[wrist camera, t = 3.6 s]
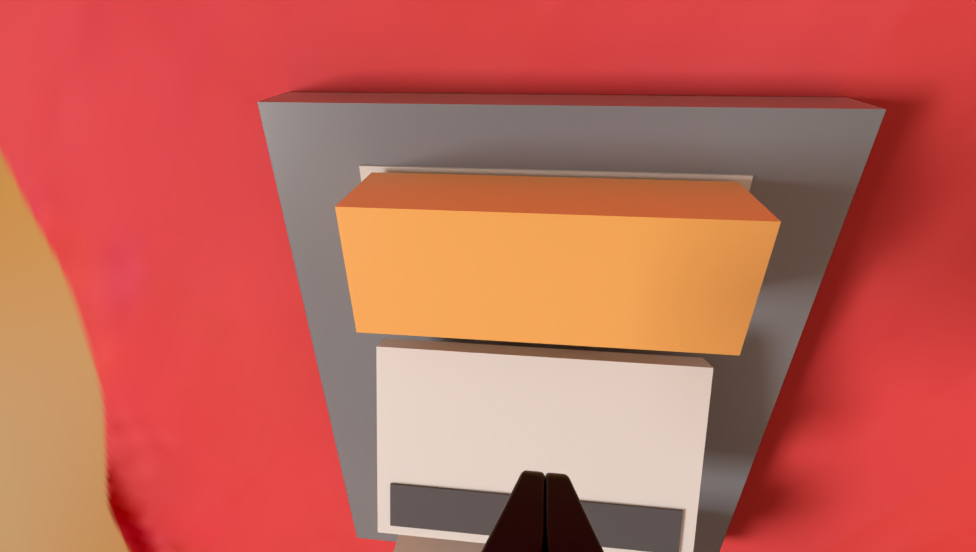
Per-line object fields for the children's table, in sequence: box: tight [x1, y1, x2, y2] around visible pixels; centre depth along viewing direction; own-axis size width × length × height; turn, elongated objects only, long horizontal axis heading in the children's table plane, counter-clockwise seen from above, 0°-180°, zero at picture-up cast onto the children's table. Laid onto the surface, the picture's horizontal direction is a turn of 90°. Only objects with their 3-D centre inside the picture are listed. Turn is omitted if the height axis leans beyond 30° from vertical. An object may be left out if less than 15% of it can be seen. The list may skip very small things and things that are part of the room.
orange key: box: [335, 172, 781, 356], centre depth 14 cm, size 11×4×3 cm, turn 91°
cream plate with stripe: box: [376, 338, 713, 552], centre depth 17 cm, size 11×7×1 cm, turn 91°
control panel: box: [258, 92, 886, 552], centre depth 19 cm, size 18×22×4 cm
